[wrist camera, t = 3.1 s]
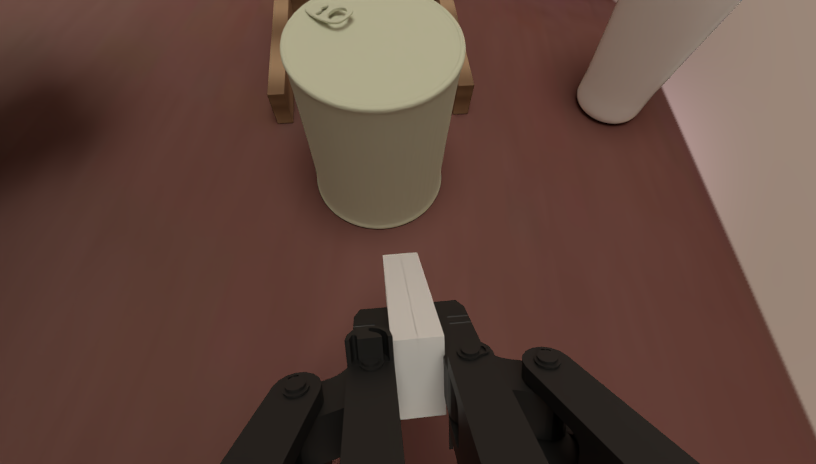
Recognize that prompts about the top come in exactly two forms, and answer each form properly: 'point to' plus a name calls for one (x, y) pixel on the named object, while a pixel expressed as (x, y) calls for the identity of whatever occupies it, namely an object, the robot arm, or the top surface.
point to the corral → (279, 84)
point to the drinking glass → (644, 52)
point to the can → (375, 101)
